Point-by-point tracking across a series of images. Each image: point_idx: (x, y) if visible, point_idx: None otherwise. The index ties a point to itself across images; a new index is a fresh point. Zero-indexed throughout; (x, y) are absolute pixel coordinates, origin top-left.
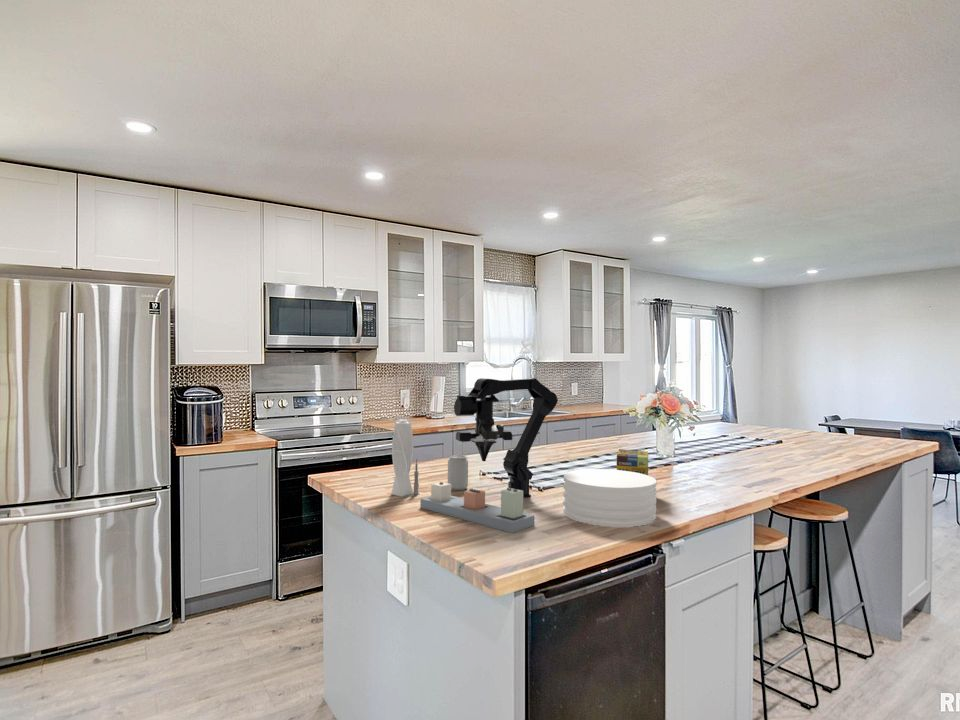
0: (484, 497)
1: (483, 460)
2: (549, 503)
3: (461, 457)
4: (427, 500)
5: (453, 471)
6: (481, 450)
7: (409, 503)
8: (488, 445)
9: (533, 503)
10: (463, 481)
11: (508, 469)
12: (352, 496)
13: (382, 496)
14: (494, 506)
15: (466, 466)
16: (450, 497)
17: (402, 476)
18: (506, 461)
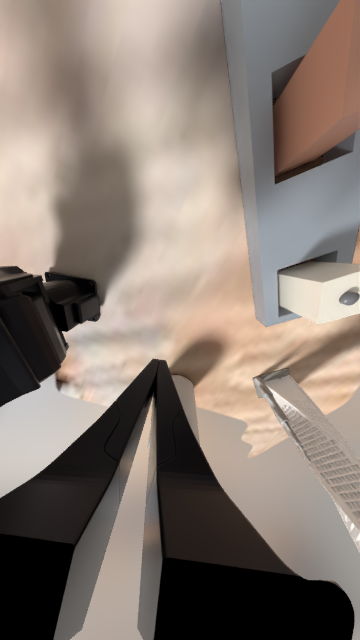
0: (326, 27)
1: (164, 362)
2: (3, 173)
3: None
4: None
5: (192, 413)
6: (183, 422)
7: (312, 335)
8: (84, 488)
9: (57, 202)
10: None
11: (52, 328)
12: (340, 399)
13: (309, 386)
14: (253, 60)
15: None
16: (290, 275)
17: (311, 413)
18: (31, 366)
